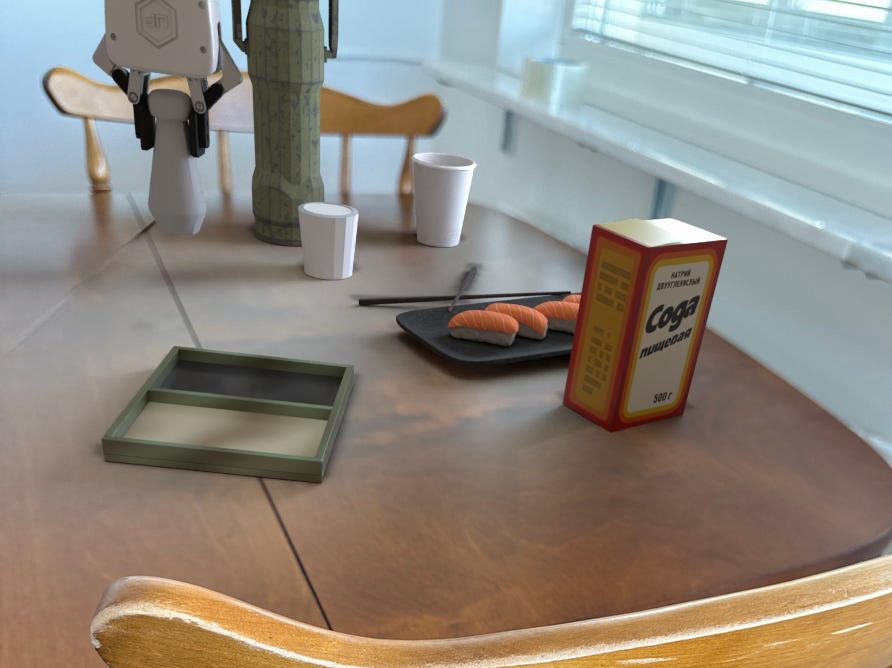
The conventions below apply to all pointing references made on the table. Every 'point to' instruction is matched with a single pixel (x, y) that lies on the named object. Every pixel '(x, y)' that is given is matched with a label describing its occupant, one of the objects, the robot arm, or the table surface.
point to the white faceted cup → (328, 239)
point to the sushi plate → (492, 325)
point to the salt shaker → (174, 166)
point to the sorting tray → (234, 415)
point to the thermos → (285, 107)
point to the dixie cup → (441, 196)
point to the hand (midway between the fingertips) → (173, 149)
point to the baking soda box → (641, 320)
